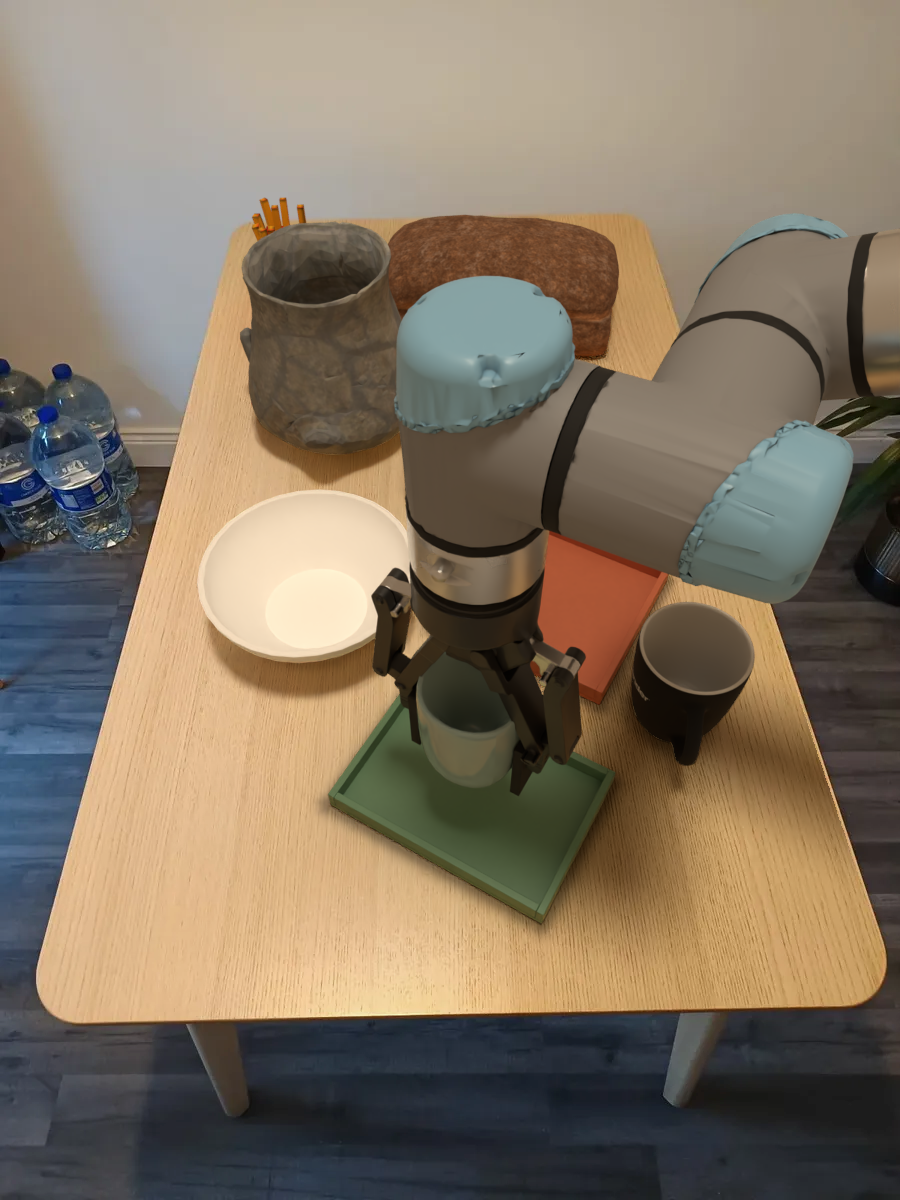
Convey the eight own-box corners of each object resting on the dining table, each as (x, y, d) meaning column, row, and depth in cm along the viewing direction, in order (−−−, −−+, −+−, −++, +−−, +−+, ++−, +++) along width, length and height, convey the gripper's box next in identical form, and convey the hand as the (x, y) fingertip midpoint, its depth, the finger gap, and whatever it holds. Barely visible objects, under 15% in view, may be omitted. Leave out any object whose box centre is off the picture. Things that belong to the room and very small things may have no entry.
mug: (620, 664, 78) (637, 596, 70) (720, 673, 78) (750, 605, 70) (620, 785, 71) (640, 724, 63) (731, 796, 70) (765, 736, 62)
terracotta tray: (667, 580, 84) (671, 567, 83) (599, 705, 76) (602, 693, 74) (511, 517, 90) (512, 504, 88) (431, 627, 81) (431, 614, 80)
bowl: (232, 536, 89) (217, 489, 83) (422, 536, 88) (419, 488, 83) (197, 700, 77) (176, 657, 71) (416, 699, 76) (412, 656, 71)
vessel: (223, 484, 93) (174, 324, 77) (266, 358, 107) (232, 200, 91) (422, 494, 92) (414, 333, 76) (440, 365, 105) (437, 206, 90)
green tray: (612, 783, 71) (615, 772, 70) (541, 924, 64) (543, 915, 63) (414, 685, 77) (413, 673, 76) (330, 804, 70) (327, 794, 69)
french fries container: (268, 340, 109) (246, 235, 98) (275, 299, 115) (255, 195, 104) (324, 339, 109) (308, 234, 98) (328, 297, 115) (314, 194, 104)
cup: (539, 732, 67) (549, 660, 59) (500, 819, 62) (505, 754, 54) (447, 697, 69) (446, 622, 61) (404, 778, 64) (396, 709, 56)
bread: (397, 272, 118) (391, 190, 109) (612, 286, 115) (625, 203, 106) (373, 347, 108) (365, 263, 99) (609, 365, 105) (623, 280, 96)
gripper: (284, 533, 49) (332, 732, 67) (624, 688, 42) (575, 861, 60) (358, 454, 52) (385, 661, 71) (680, 584, 46) (618, 776, 64)
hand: (472, 753), depth 65 cm, fingers closed on cup, 8 cm apart
